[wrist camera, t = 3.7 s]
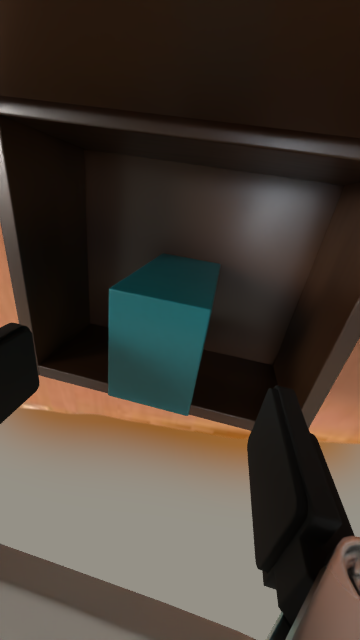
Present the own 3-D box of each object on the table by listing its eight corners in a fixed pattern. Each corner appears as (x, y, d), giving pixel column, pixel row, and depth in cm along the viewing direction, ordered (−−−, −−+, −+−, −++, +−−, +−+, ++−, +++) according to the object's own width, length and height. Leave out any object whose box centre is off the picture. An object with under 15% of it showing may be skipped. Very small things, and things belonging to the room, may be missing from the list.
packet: (205, 335, 18) (188, 417, 11) (154, 323, 19) (107, 395, 11) (220, 263, 16) (211, 309, 9) (162, 252, 16) (107, 288, 9)
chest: (278, 369, 19) (300, 444, 13) (86, 325, 21) (27, 372, 15) (359, 172, 13) (471, 141, 7) (78, 134, 15) (-26, 84, 9)
